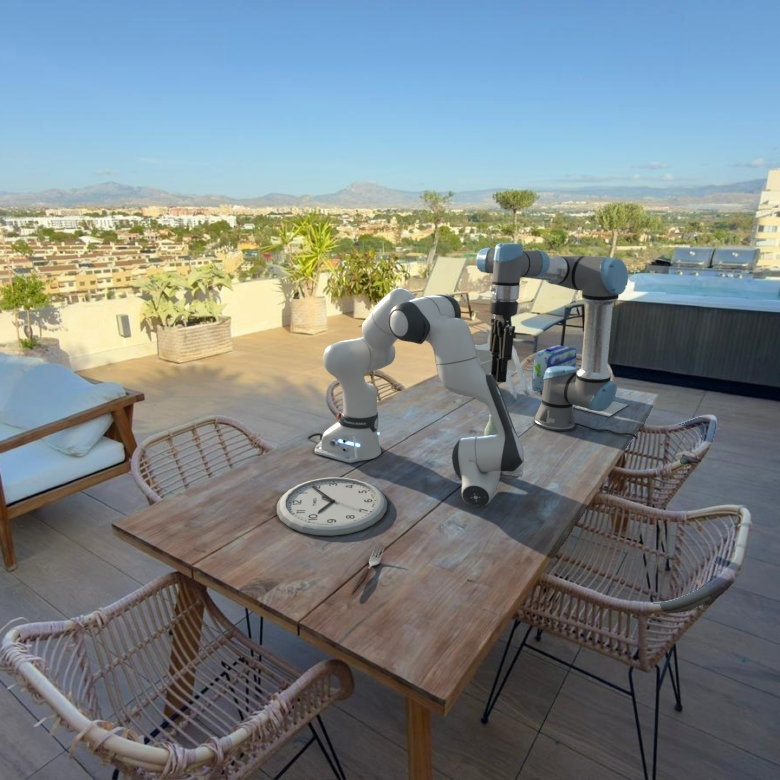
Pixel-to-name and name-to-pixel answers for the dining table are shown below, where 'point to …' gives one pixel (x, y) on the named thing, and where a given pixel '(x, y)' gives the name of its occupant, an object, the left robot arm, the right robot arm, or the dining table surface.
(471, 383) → the left robot arm
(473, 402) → the dining table surface
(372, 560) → the fork
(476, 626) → the dining table surface
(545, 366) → the lunch box
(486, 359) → the white plastic object
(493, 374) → the cap
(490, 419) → the bottle
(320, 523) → the wall clock
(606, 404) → the right robot arm
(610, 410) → the invitation card
